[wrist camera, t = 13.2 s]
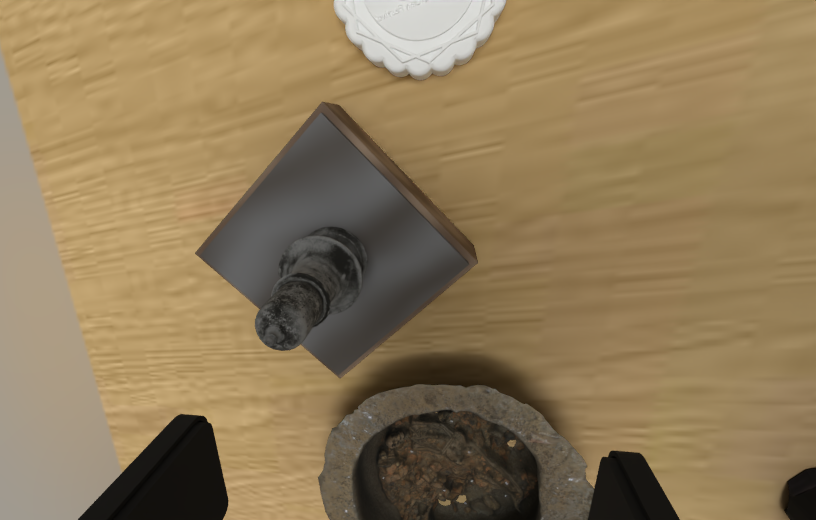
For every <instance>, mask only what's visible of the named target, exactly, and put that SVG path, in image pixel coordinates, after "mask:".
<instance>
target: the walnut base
mask: <svg viewBox="0 0 816 520" xmlns="http://www.w3.org/2000/svg"><path fill="white" fill-rule="evenodd" d="M323 227H338V228H342V229H345V230H347V231H349V232H351V233H352V234H353V235H355V236H356V237H357V238H358V239H359V240H360V242H361V243H362V244H363V246H364V248H365V250H366V253H367V259H368V264H367V270H366V273H365V275H364V277H363V283H362V290H361V292H360V294H359V296H358V299H357V300H356V301H355V302H354V303H353V305H352V306H351V307H349V308H348V309H346V310H345V311H343V312H340V313H337V314H334V315H328V316H327V318H326V319H325V320H324V321H323V322H322V323H321V324H319V325H318V326H316V327H313V328H312V329H311V331H310V333H309V334H308V336H307V337H306V339H305V340H304V341H303V342H302V343H301V345H302V346H303V347H304V348H305V349H306V350H308V351H309V352H310V353H311V354H312V355H313V356H315V357H316V358H317V359H318V360H319V361H320V362H322V363H323V364H324V365H325V366H326V367H327V368H328V369H330V370H331V371H332V372H333V373H334V374H335V375H337V376H338V377H339V378H342V377H343V376H344V375H345V374H346V373H348V372H349V371H350V370H351V369H352V368H353V367H355V366H356V365H357V364H358V363H359V362H361V361H362V360H363V359H364V358H365V357H367V356H368V355H369V354H370V353H371V352H373V351H374V350H375V349H376V348H377V347H378V346H380V345H381V344H382V343H383V342H384V341H386V340H387V339H388V338H389V337H390V336H392V335H393V334H394V333H395V332H396V331H397V330H399V329H400V328H401V327H402V326H403V325H405V324H406V323H407V322H408V321H409V320H411V319H412V318H413V317H414V316H415V315H416V314H418V313H419V312H420V311H421V310H422V309H424V308H425V307H426V306H427V305H428V304H430V303H431V302H432V301H433V300H434V299H436V298H437V297H438V296H439V295H440V294H441V293H443V292H444V291H445V290H446V289H447V288H449V287H450V286H451V285H452V284H453V283H455V282H456V281H457V280H458V279H459V278H460V277H462V276H463V275H464V274H465V273H466V272H468V271H469V270H470V269H471V268H472V267H474V266H475V265H476V264H477V263H478V260H477V257H476V253H475V249H474V245H473V244H472V243H471V242H470V241H469V240H468V239H467V238H466V237H465V236H464V235H463V234H462V233H461V232H460V231H459V230H458V229H457V228H456V226H455V225H454V224H453V223H452V222H451V221H450V220H449V219H448V218H447V217H446V216H445V215H444V214H443V213H442V212H441V211H440V210H439V209H438V208H437V207H436V206H435V205H434V204H433V203H432V201H431V200H430V199H429V198H428V197H427V196H426V195H425V194H424V193H423V192H422V191H421V190H420V189H419V188H418V187H417V186H416V185H415V184H414V183H413V182H412V181H411V180H410V179H409V178H408V177H407V175H406V174H405V173H404V172H403V171H402V170H401V169H400V168H399V167H398V166H397V165H396V164H395V163H394V162H393V161H392V160H391V159H390V158H389V157H388V156H387V155H386V154H385V153H384V152H383V150H382V149H381V148H380V147H379V146H378V145H377V144H376V143H375V142H374V141H373V140H372V139H371V138H370V137H369V136H368V135H367V134H366V133H365V132H364V131H363V130H362V129H361V128H360V127H359V126H358V124H357V123H356V122H355V121H354V120H353V119H352V118H351V117H350V116H349V115H348V114H347V113H346V112H345V111H344V110H343V109H342V108H341V107H340V106H339V105H336V104H331V103H326V102H322V103H321V104H320V105H319V106H318V107H317V109H316V110H315V111H314V112H313V113H312V115H311V116H310V117H309V118H308V119H307V121H306V122H305V123H304V124H303V125H302V127H301V128H300V129H299V130H298V131H297V132H296V134H295V135H294V136H293V137H292V138H291V140H290V141H289V142H288V143H287V144H286V146H285V147H284V148H283V149H282V150H281V151H280V153H279V154H278V155H277V156H276V157H275V159H274V160H273V161H272V162H271V163H270V165H269V166H268V167H267V168H266V169H265V171H264V172H263V173H262V174H261V175H260V176H259V178H258V179H257V180H256V181H255V182H254V184H253V185H252V186H251V187H250V188H249V190H248V191H247V192H246V193H245V194H244V196H243V197H242V198H241V199H240V200H239V201H238V203H237V204H236V205H235V206H234V207H233V209H232V210H231V211H230V212H229V213H228V215H227V216H226V217H225V218H224V219H223V220H222V222H221V223H220V224H219V225H218V226H217V228H216V229H215V230H214V231H213V232H212V234H211V235H210V236H209V237H208V238H207V240H206V241H205V242H204V243H203V244H202V245H201V247H200V248H199V249H198V250H197V251H196V253H195V254H196V255H197V256H199V257H200V258H201V259H202V260H203V261H204V262H206V263H207V264H208V265H209V266H210V267H211V268H213V269H214V270H215V271H216V272H217V273H218V274H219V275H221V276H222V277H223V278H224V279H225V280H226V281H228V282H229V283H230V284H231V285H232V286H233V287H235V288H236V289H237V290H238V291H239V292H240V293H242V294H243V295H244V296H245V297H246V298H247V299H248V300H250V301H251V302H252V303H253V304H254V305H255V306H257V307H258V308H259V309H261V307H262V306H263V305H264V304H265V303H266V302H267V301H268V300H269V299H270V298H271V293H272V290H273V287H274V285H275V284H276V283H277V281H278V280H279V276H278V271H279V262H280V259H281V256H282V254H283V253H284V252H285V250H286V249H287V247H288V246H290V245H291V244H292V243H294V242H295V241H296V240H298V239H301V238H304V237H306V236H308V235H310V234H311V233H312V232H314V231H315V230H318V229H320V228H323Z"/></svg>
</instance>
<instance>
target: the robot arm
mask: <svg viewBox="0 0 816 520" xmlns="http://www.w3.org/2000/svg"><path fill="white" fill-rule="evenodd" d="M227 507H228V496H227V491H226V487H225V482H224V478H223V473H222V469H221V464H220V459H219V455H218V450H217V446H216V441H215V437H214V432H213V428H212V425H211V424H210V423H208V422H207V419H206V418H205V417H204V416H197V415H185V414H180V415H178V416H176V417H175V418H174V419H173V420H172V421H171V422H170V423H169V424H168V425H167V426H166V427H165V428H164V429H163V431H162V432H161V433H160V434H159V435H158V436H157V437H156V438H155V439H154V440H153V441H152V442H151V443H150V444H149V445H148V446H147V447H146V448H145V449H144V450H143V452H142V453H141V454H140V455H139V456H138V457H137V458H136V459H135V460H134V461H133V462H132V463H131V464H130V465H129V466H128V467H127V468H126V469H125V470H124V472H123V473H122V474H121V475H120V476H119V477H118V478H117V479H116V480H115V481H114V482H113V483H112V484H111V485H110V486H109V487H108V488H107V489H106V490H105V492H104V493H103V494H102V495H101V496H100V497H99V498H98V499H97V500H96V501H95V502H94V503H93V504H92V505H91V506H90V507H89V508H88V509H87V510H86V512H85V513H84V514H83V515H82V516H81V517H80V518H79V519H78V520H223V518H224V516H225V514H226V511H227ZM588 520H680V519H679V517H678V516H677V514H676V512H675V510H674V509H673V507H672V505H671V503H670V502H669V500H668V498H667V496H666V495H665V493H664V491H663V489H662V488H661V486H660V484H659V482H658V481H657V479H656V477H655V476H654V474H653V472H652V470H651V469H650V467H649V465H648V463H647V462H646V460H645V458H644V457H643V456H642V455H641V454H640V453H634V452H622V451H611V452H610V453H609V456H608V457H602V459H601V462H600V466H599V471H598V475H597V480H596V484H595V489H594V493H593V498H592V502H591V507H590V511H589V516H588Z"/></svg>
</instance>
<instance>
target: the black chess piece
mask: <svg viewBox="0 0 816 520" xmlns="http://www.w3.org/2000/svg"><path fill="white" fill-rule="evenodd" d="M367 264H368V259H367V253H366V250H365V248H364V246H363V244H362V243H361V242H360V240H359V239H358V238H357V237H356V236H355V235H353V234H352V233H351V232H349V231H347V230H345V229H342V228H338V227H323V228H320V229H318V230H315V231H314V232H312V233H311V234H310V235H308V236H306V237H304V238H301V239H298V240H296V241H295V242H294V243H292V244H291V245H290V246H288V247H287V249H286V250H285V252H284V253H283V254H282V256H281V259H280V262H279V271H278V276H279V280H278V281H277V283H276V284H275V285H274V287H273V290H272V293H271V298H270V299H269V300H268V301H267V302H266V303H265V304H264V305H263V306H262V307H261V309H260V310H259V311H258V313H257V316H256V319H255V328H256V332H257V334H258V336H259V338H260V340H261V341H262V342H263V343H264V344H265V345H267V346H268V347H270V348H272V349H275V350H281V351H285V350H291V349H294V348H296V347H297V346H299V345H300V344H301V343H302V342H303V341H304V340H305V339H306V337H307V336H308V334H309V333H310V331H311V329H312V328H313V327H316V326H318V325H319V324H321V323H322V322H323V321H324V320H325V319H326V318H327V316H328V315H334V314H337V313H340V312H343V311H345V310H346V309H348V308H349V307H351V306H352V305H353V303H354V302H355V301H356V300H357V299H358V296H359V294H360V292H361V290H362V283H363V277H364V275H365V273H366V270H367Z"/></svg>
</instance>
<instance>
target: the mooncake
mask: <svg viewBox="0 0 816 520" xmlns="http://www.w3.org/2000/svg"><path fill="white" fill-rule="evenodd" d="M505 4H506V0H334V10H335V13H336V15H337V16H338V18H339V19H340V20H341V21H342V22H343V23H344V24H345V30H346V34H347V36H348V38H349V40H350V41H351V42H352V43H353V44H354V45H355V46H357V47H358V48H359V49H360V50H362V51H363V53H364V55H365V56H366V58H367V59H369V60H370V61H371V62H372V63H373V64H374V65H375V66H377V67H381V68H383V67H386V68H387V69H388V70H389V71H390V73H391V74H393V75H394V76H396V77H404V76H407V75H408V74H410V76H411V77H413V78H414V79H416V80H424V79H427V78H428V77H429V76H430V75H431V74H432V73H433V74H434V75H436V76H444V75H447V74H448V73H450V71H451V70H452V69H453V67H454V65H463V64H466V63H467V62H468V61H469V60H470V59H471V58H472V56H473V54H474V51H475V49H476V48H479V47H481V46H483V45H484V44H485V43H486V42H487V40H488V38H489V36H490V34H491V33H492V31H493V28H494V23H495V22H496V21H497V19H498V18H499V16H500V14H501V12H502V10H503V8H504V6H505Z"/></svg>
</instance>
